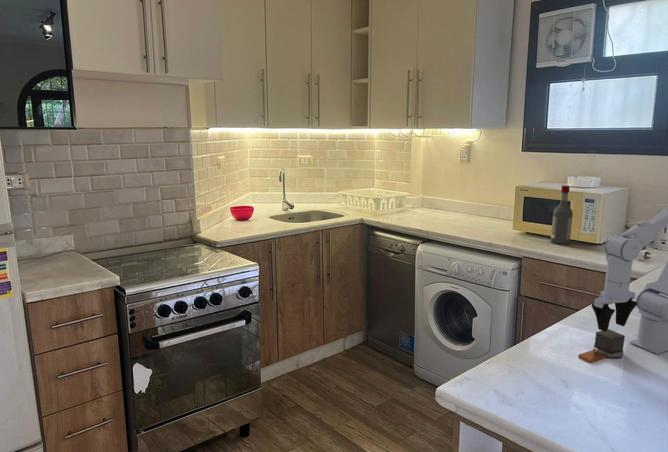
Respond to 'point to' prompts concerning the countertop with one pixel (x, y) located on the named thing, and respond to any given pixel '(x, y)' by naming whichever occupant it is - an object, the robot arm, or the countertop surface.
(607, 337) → the dark grey cube
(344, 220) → the countertop surface
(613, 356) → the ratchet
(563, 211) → the liquor
